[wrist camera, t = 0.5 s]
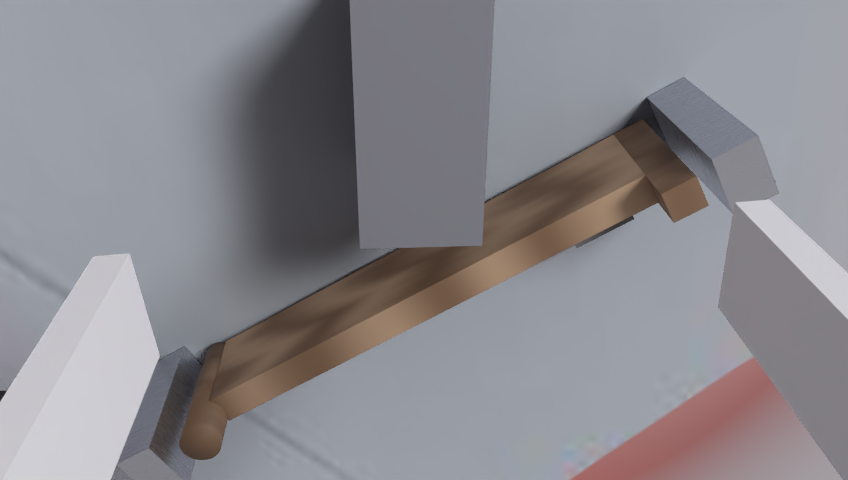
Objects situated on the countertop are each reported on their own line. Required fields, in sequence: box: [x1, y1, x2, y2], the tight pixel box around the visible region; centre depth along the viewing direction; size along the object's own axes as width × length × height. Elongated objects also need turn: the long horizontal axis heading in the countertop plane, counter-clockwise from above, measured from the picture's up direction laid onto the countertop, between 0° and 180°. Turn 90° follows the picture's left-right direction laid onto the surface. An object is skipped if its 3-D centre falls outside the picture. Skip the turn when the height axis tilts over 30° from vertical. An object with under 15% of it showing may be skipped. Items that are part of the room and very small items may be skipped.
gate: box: [179, 119, 709, 460], centre depth 37 cm, size 27×3×7 cm, turn 120°
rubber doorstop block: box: [349, 0, 495, 249], centre depth 32 cm, size 5×10×9 cm, turn 0°
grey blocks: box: [117, 77, 779, 480], centre depth 37 cm, size 33×3×8 cm, turn 120°
